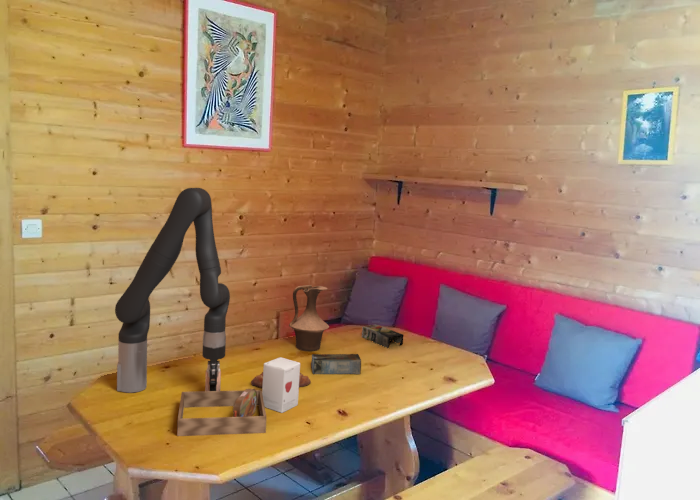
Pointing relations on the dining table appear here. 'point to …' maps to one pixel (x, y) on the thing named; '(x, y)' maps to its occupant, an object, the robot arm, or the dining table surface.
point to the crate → (220, 423)
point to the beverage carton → (336, 364)
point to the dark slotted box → (381, 335)
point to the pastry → (259, 381)
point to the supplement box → (281, 384)
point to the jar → (207, 386)
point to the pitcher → (308, 320)
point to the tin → (245, 404)
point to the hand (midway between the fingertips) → (212, 391)
